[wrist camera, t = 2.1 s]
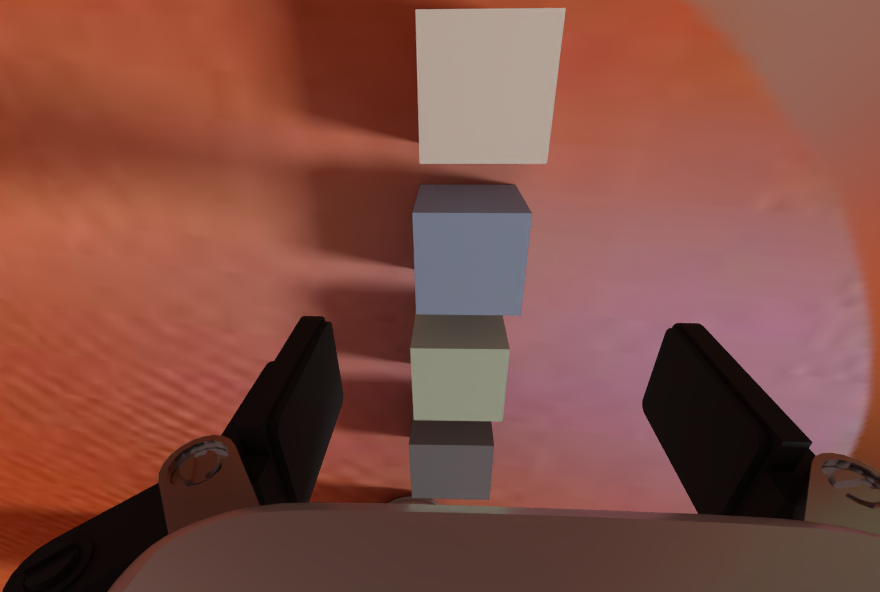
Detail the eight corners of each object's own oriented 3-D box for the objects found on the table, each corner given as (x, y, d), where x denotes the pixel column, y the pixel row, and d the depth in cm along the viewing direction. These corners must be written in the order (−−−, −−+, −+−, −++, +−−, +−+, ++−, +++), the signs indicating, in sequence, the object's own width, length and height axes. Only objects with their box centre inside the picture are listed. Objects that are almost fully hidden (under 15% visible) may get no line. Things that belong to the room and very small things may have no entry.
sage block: (494, 364, 27) (502, 421, 23) (419, 363, 27) (413, 420, 23) (499, 300, 24) (509, 349, 20) (417, 299, 25) (410, 348, 20)
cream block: (526, 144, 20) (546, 163, 16) (426, 144, 20) (419, 163, 16) (537, 24, 18) (565, 8, 13) (424, 24, 18) (415, 9, 13)
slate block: (507, 270, 24) (520, 315, 19) (422, 269, 24) (416, 314, 19) (515, 184, 21) (532, 213, 17) (420, 184, 21) (412, 212, 17)
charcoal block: (483, 438, 30) (489, 499, 26) (417, 437, 30) (411, 498, 26) (487, 387, 28) (494, 446, 24) (415, 386, 28) (408, 444, 24)
